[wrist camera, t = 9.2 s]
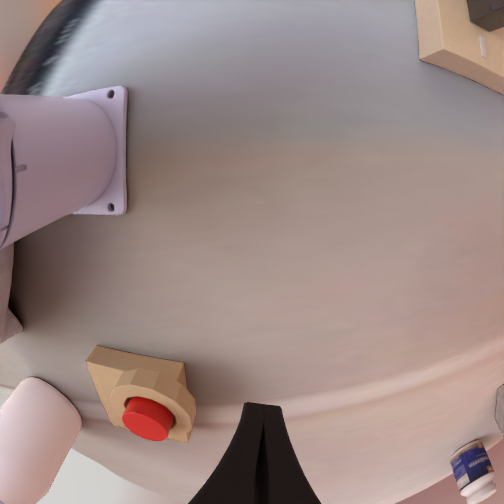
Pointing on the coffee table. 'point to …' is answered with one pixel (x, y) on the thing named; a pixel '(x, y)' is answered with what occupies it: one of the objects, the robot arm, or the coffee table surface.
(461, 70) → the tan slotted base
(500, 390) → the cosmetic box
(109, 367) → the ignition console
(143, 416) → the button
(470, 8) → the dark upright block
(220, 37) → the coffee table surface
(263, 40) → the coffee table surface
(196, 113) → the coffee table surface
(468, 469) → the pill bottle
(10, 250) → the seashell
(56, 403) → the wine bottle
